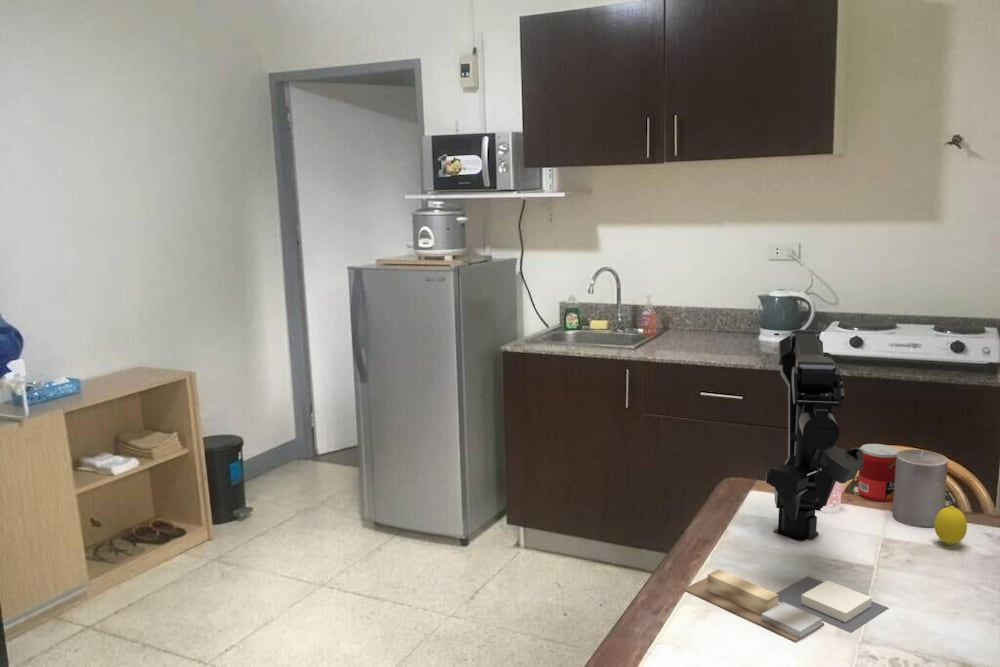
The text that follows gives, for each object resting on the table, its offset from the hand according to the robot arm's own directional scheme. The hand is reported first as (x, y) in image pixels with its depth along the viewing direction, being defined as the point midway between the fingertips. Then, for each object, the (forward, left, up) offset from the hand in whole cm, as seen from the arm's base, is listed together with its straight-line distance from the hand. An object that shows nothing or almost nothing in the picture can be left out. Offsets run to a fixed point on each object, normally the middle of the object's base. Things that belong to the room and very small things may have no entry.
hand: (808, 512), depth 153 cm
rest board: (+2, -19, -12) cm, 22 cm away
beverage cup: (-13, +30, -12) cm, 35 cm away
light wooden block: (+3, -19, -11) cm, 22 cm away
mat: (+9, -8, -12) cm, 17 cm away
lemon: (+12, +31, -12) cm, 35 cm away
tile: (+7, -8, -10) cm, 15 cm away
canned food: (-10, +45, -12) cm, 47 cm away
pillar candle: (+2, +39, -12) cm, 41 cm away
